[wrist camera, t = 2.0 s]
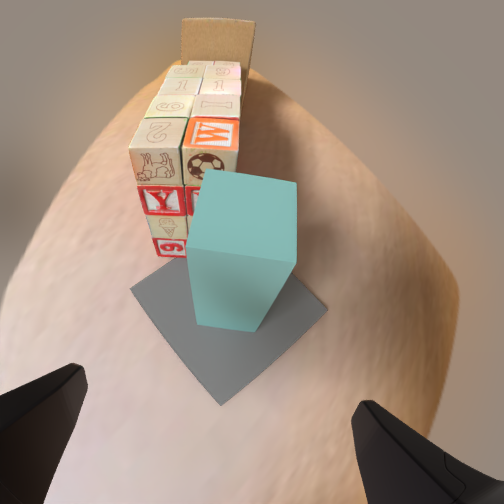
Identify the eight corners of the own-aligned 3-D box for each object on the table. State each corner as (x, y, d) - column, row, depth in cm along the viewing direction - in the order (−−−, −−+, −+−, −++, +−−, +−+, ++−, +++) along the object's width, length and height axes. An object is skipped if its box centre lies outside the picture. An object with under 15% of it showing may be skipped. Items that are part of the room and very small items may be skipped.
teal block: (254, 332, 22) (296, 262, 12) (197, 324, 22) (185, 246, 11) (259, 280, 24) (296, 182, 14) (205, 272, 24) (206, 168, 14)
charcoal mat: (325, 311, 24) (327, 310, 24) (220, 405, 19) (220, 406, 19) (237, 220, 28) (237, 217, 27) (131, 290, 23) (129, 288, 22)
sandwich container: (245, 76, 44) (257, 3, 31) (242, 120, 37) (257, 21, 24) (198, 73, 43) (203, -1, 30) (180, 116, 36) (181, 17, 23)
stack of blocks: (189, 120, 35) (189, 37, 25) (235, 122, 36) (244, 39, 25) (157, 258, 24) (125, 145, 14) (228, 262, 25) (239, 147, 14)
